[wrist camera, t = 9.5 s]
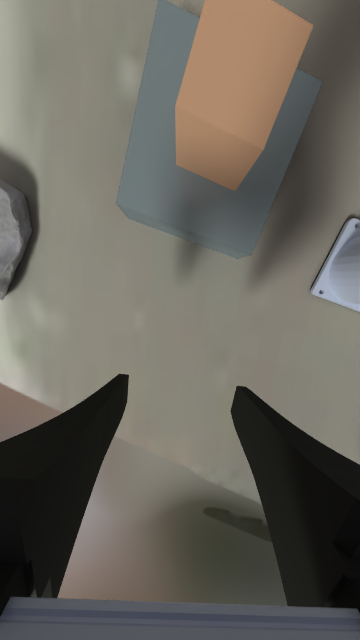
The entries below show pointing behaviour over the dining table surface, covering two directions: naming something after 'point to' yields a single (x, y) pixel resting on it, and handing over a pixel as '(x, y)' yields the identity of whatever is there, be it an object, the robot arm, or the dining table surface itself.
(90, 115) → the dining table surface
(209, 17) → the terracotta block
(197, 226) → the slate box
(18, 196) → the stone block
